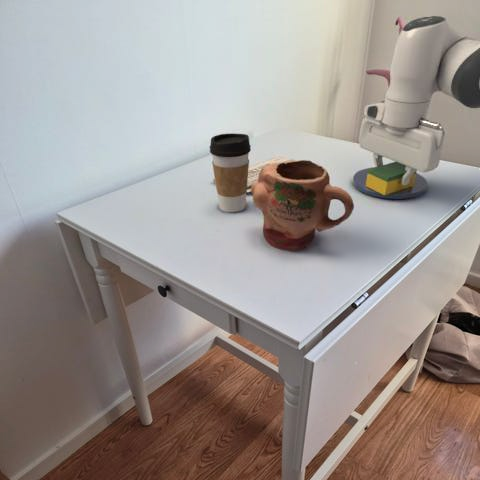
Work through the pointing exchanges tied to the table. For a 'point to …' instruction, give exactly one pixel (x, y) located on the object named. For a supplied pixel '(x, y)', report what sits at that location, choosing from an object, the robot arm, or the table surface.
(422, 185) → the plate
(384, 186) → the sponge
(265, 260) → the table surface
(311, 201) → the sculpted ceramic mug
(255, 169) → the newspaper
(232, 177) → the coffee cup
